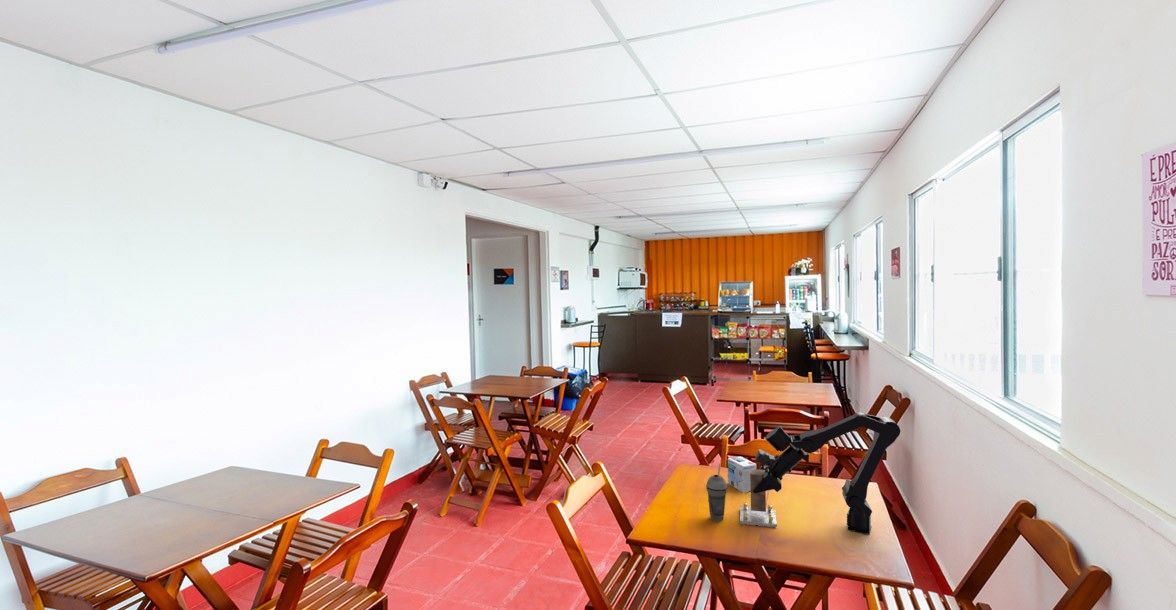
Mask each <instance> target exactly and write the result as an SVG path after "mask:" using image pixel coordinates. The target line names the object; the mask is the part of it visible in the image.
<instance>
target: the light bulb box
mask: <svg viewBox="0 0 1176 610" xmlns="http://www.w3.org/2000/svg"><path fill="white" fill-rule="evenodd" d="M750 469H757V463H755V462H753V461H751V460H749V459H747V458H745V457H743V456H735V457H729V458H727V484H728V485H729V486H732V487H733V488H735V489H737V491H739V492H741V493H743V492H744V493H749V491H750V492H751V490H750Z"/></svg>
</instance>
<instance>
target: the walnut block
mask: <svg viewBox="0 0 1176 610" xmlns="http://www.w3.org/2000/svg"><path fill="white" fill-rule="evenodd" d="M762 474H763V475H764V474H765V470H761V469H757V468H756V469H750V490H751V491H750V507H751V511H762V512H766V509H767V503H766V502H767V494H766V492H767V491H763V492H759V493H754V492H753V490H754V489H755V488H756V486H757V485H758V484H759V483H760V482H761V480H762Z"/></svg>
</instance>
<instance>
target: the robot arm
mask: <svg viewBox="0 0 1176 610" xmlns="http://www.w3.org/2000/svg"><path fill="white" fill-rule="evenodd" d="M861 428H865V429H868V430H870V431H873V439H872V442H871V444H870V445H869V448H868V450H867V451H866V454H865V456H864V458H863V460H862V462H861V464H860V466H859V468H858V470H857V472H856V474H855V476H854V477H853V478H852V479H851V480H850V479H849V478H846V479H845V482H844V485H843V486H842V487H841V490H842V497H843V499H844V501H845V503H846V506H848V511H847V513H846V526H847V530H848V531H851V532H856V533H861V534H864V535H870V533H871V531H872V529H873V528H872V525H871V522H872V519H871V517H872V513H873V510H872V508H871V507H870V504H869V503H868V501H867V497H868V495H867V494H868V486H869V484H870V482H871V480H872V478H873V476H874V474H875V472H876V471H877V468H878V466H879V464H880V462H881V460H882V458H883V456H884V454H885V452H886V450H887V449H888V448H889V447H890V446H892V445H893V444H894V443H895V441H897V439H898V438H899V437H900V434H901V429H900V426H899V425H898V424H897V422H896V421H895V420H894V419H892V418H890V417H888V416H883V417H879V416H876V415H872V414H868V413H867V414H866V413H863V412H861V411H857V412H856V413H854V414H853V415H850V416H848V417H846V418H843V419H841V420H838V421H836V422H835V423H832V424H830V425H829V424H828V425H827V426H826V427H823V428H820V429H812V430H808V431H804V432H801V433H800V434H793V435H789V434H788V433H787V432H786V431H785V430H784V429H783V428H782V426H780V425H779V426H778V427H776V428H773V429H772V430H770V431H769V432H768V434H767V435H766V436H765V438H764V439H765V441H766V442H767V443H769V444H770V446H772V447H773V448H774V449H775V451H777V452H779V451H780V452H781V453H780V454H775V455H772V454H770V452H769V453H768V452H767V451H765V450H763V449H761V448H760V449H758V451H757V453H756V455H755V461H756V462H757V463H761V466H760V468H761V469H760V470H765V474H764V475H763V474H762V480H761V482H760V483H759V484H758V485H757V486H756V488H755V489H754V490H753V492H754V493H759V492H763V491H766V492H768V491H772V490H774V491H775V492H776V493H778V492H780V491H781V490H782V488H783V487H782V480H783V477H784V476H785V475H787V473H789V474H790V473H791V472H793V471H792V469H793V468H794V467H795V466H797V465H798V464H799V463H800V462H801V461H802V460H803V461H805V463H806V464H809V463H810V460H809V459H810V454H814V453H815V452H817V451H818V450H819V449H821V448H823V447H824V446H825V445H826V444H827V443H828V442H830V441H831V440H834V439H837V438H839V437H841V436H844V435H846V434H848V433H851V432H852V431H855V430H857V429H861Z"/></svg>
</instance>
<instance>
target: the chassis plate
mask: <svg viewBox="0 0 1176 610" xmlns="http://www.w3.org/2000/svg"><path fill="white" fill-rule="evenodd" d="M739 513H740V514H739V524H740V525H745V524H747V526H755V525H758V526H757V527H764V526H768V527H767V528H773V527H777V528H778V523H777V517H776V509H773V505H771V504H767V508H766V512H762V511H751V506H748V503H747V502H743V505H741V506H740V508H739Z"/></svg>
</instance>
